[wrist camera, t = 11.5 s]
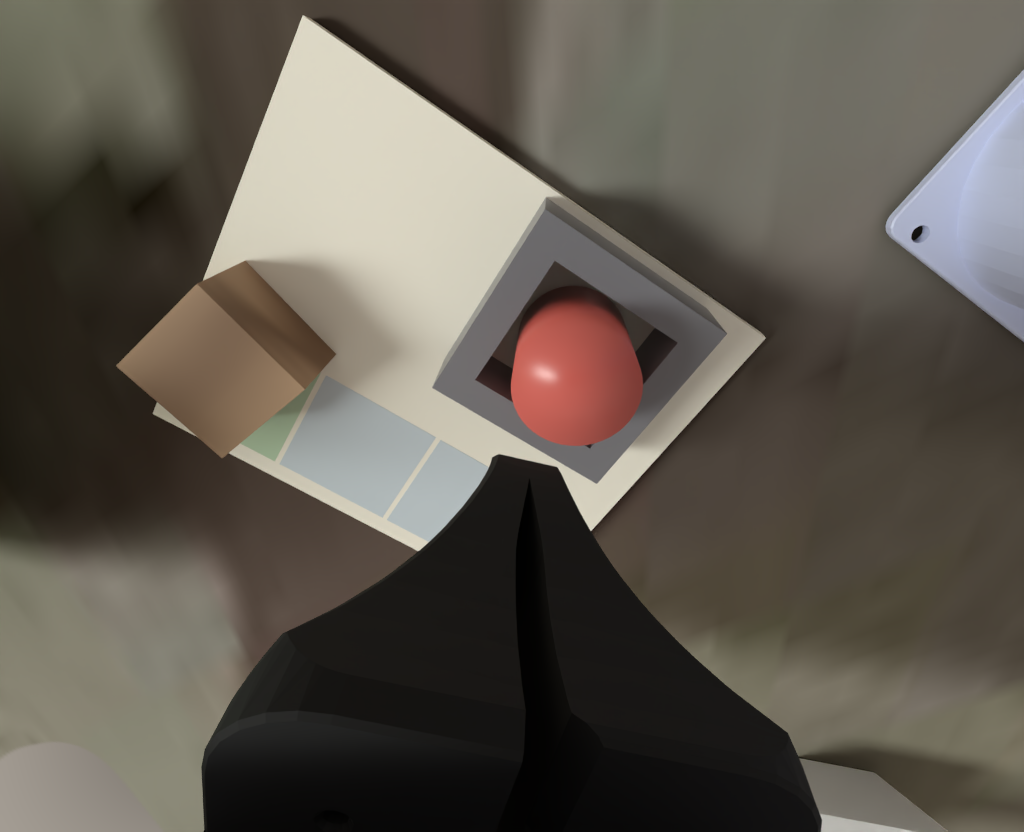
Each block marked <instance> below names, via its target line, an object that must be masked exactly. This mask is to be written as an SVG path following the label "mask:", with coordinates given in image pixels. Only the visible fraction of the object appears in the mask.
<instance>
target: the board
mask: <svg viewBox="0 0 1024 832" xmlns="http://www.w3.org/2000/svg"><path fill="white" fill-rule="evenodd" d="M546 197H547V198H548V199H549V200H551V201H552V202H554V203H555V204H557V205H558V206H560V207H561V208H562V209H564V210H565V211H567V212H568V213H570V214H571V215H573V216H574V217H575V218H577V219H578V220H580V221H581V222H583V223H584V224H586V225H587V226H589V227H590V228H591V229H593V230H594V231H596V232H597V233H599V234H600V235H602V236H603V237H604V238H606V239H607V240H609V241H610V242H612V243H613V244H615V245H616V246H617V247H619V248H620V249H622V250H623V251H625V252H626V253H628V254H629V255H630V256H632V257H633V258H635V259H636V260H638V261H639V262H641V263H642V264H644V265H645V266H646V267H648V268H649V269H651V270H652V271H654V272H655V273H657V274H658V275H659V276H661V277H662V278H664V279H665V280H667V281H668V282H670V283H671V284H672V285H674V286H675V287H677V288H678V289H680V290H681V291H683V292H684V293H685V294H687V295H688V296H690V297H691V298H693V299H694V300H696V301H697V302H699V303H700V304H701V305H703V306H704V307H706V308H707V309H708V310H709V311H710V313H711V314H712V315H713V317H714V318H715V319H716V320H717V322H718V323H719V324H720V325H721V327H722V328H723V329H724V330H725V332H726V333H727V335H726V336H725V337H724V338H723V339H722V340H721V342H720V343H719V344H718V345H717V346H716V347H715V349H714V350H713V351H712V352H711V353H710V354H709V355H708V357H707V358H706V359H705V360H704V361H703V362H702V364H701V365H700V366H699V367H698V368H697V369H696V370H695V372H694V373H693V374H692V375H691V376H690V377H689V379H688V380H687V381H686V382H685V383H684V384H683V385H682V387H681V388H680V389H679V390H678V391H677V392H676V393H675V395H674V396H673V397H672V398H671V399H670V400H669V402H668V403H667V404H666V405H665V406H664V407H663V408H662V410H661V411H660V412H659V413H658V414H657V415H656V417H655V418H654V419H653V420H652V421H651V422H650V423H649V425H648V426H647V427H646V428H645V429H644V430H643V432H642V433H641V434H640V435H639V436H638V437H637V438H636V440H635V441H634V442H633V443H632V444H631V445H630V446H629V448H628V449H627V450H626V451H625V452H624V453H623V455H622V456H621V457H620V458H619V459H618V460H617V461H616V463H615V464H614V465H613V466H612V467H611V468H610V470H609V471H608V472H607V473H606V474H605V475H604V476H603V478H602V479H601V480H600V481H599V482H598V483H597V484H596V483H594V482H592V481H591V480H589V479H587V478H586V477H584V476H582V475H580V474H579V473H577V472H575V471H574V470H572V469H570V468H568V467H567V466H565V465H563V464H562V463H560V462H558V461H556V460H555V459H553V458H551V457H550V456H548V455H546V454H544V453H543V452H541V451H539V450H538V449H536V448H534V447H532V446H531V445H529V444H527V443H526V442H524V441H522V440H520V439H519V438H517V437H515V436H514V435H512V434H510V433H509V432H507V431H505V430H503V429H502V428H500V427H498V426H497V425H495V424H493V423H491V422H490V421H488V420H486V419H485V418H483V417H481V416H479V415H478V414H476V413H474V412H473V411H471V410H469V409H467V408H466V407H464V406H462V405H461V404H459V403H457V402H455V401H454V400H452V399H450V398H449V397H447V396H445V395H443V394H442V393H440V392H438V391H437V390H435V389H433V388H432V387H433V384H434V382H435V380H436V377H437V375H438V373H439V371H440V368H441V366H442V364H443V361H444V359H445V357H446V356H447V354H448V352H449V351H450V349H451V348H452V346H453V344H454V343H455V341H456V340H457V338H458V336H459V335H460V333H461V332H462V330H463V328H464V327H465V325H466V324H467V322H468V321H469V319H470V317H471V316H472V314H473V313H474V311H475V309H476V308H477V306H478V305H479V303H480V301H481V300H482V298H483V297H484V295H485V293H486V292H487V290H488V289H489V287H490V285H491V284H492V282H493V281H494V279H495V277H496V276H497V274H498V273H499V271H500V269H501V268H502V266H503V265H504V263H505V262H506V260H507V258H508V257H509V255H510V254H511V252H512V250H513V249H514V247H515V246H516V244H517V242H518V241H519V239H520V238H521V236H522V234H523V233H524V231H525V230H526V228H527V226H528V225H529V223H530V222H531V220H532V218H533V217H534V215H535V214H536V212H537V210H538V209H539V207H540V206H541V204H542V203H543V201H544V199H545V198H546ZM243 261H246V262H247V263H248V264H249V265H250V266H251V267H252V268H253V269H254V270H255V271H256V272H257V273H258V274H259V275H260V276H261V277H262V278H263V279H264V280H265V281H266V282H267V283H268V284H269V285H270V286H271V287H272V288H273V289H274V291H275V292H276V293H277V294H278V295H279V296H280V297H281V298H282V299H283V300H284V301H285V302H286V303H287V304H288V305H289V306H290V307H291V308H292V309H293V310H294V311H295V312H296V313H297V314H298V315H299V316H300V317H301V318H302V319H303V320H304V321H305V322H306V323H307V324H308V325H309V326H310V327H311V329H312V330H313V331H314V332H315V333H316V334H317V335H318V336H319V337H320V338H321V339H322V340H323V341H324V342H325V343H326V344H327V345H328V346H329V347H330V348H331V349H332V350H333V351H334V352H335V353H336V355H335V356H334V357H333V359H332V360H331V361H330V362H329V363H328V364H327V365H326V366H325V368H324V369H323V370H322V371H321V372H320V373H319V374H318V375H317V377H316V378H315V379H314V380H313V381H312V382H311V383H310V384H309V386H308V387H307V388H306V389H305V390H304V391H303V392H301V393H300V394H299V395H298V396H297V397H295V398H294V399H293V400H292V401H291V402H289V403H288V404H287V405H286V406H285V407H283V408H282V409H281V410H280V411H279V412H277V413H276V414H275V415H274V416H273V417H271V418H270V419H269V420H268V421H267V422H265V423H264V424H263V425H262V426H260V427H259V428H258V429H257V430H256V431H254V432H253V433H252V434H251V435H250V436H248V437H247V438H246V439H245V440H244V441H242V442H241V443H240V444H239V445H238V446H236V447H235V448H234V449H233V450H232V451H230V452H229V454H231V455H233V456H235V457H237V458H239V459H241V460H243V461H245V462H247V463H249V464H251V465H253V466H255V467H257V468H259V469H260V470H262V471H264V472H266V473H268V474H270V475H272V476H274V477H276V478H278V479H280V480H282V481H284V482H286V483H288V484H290V485H291V486H293V487H295V488H297V489H299V490H301V491H303V492H305V493H307V494H309V495H311V496H313V497H315V498H317V499H319V500H321V501H322V502H324V503H326V504H328V505H330V506H332V507H334V508H336V509H338V510H340V511H342V512H344V513H346V514H348V515H350V516H352V517H353V518H355V519H357V520H359V521H361V522H363V523H365V524H367V525H369V526H371V527H373V528H375V529H377V530H379V531H381V532H383V533H384V534H386V535H388V536H390V537H392V538H394V539H396V540H398V541H400V542H402V543H404V544H406V545H408V546H410V547H412V548H414V549H415V550H417V551H419V550H421V549H422V548H423V547H424V546H425V545H426V544H427V543H428V542H430V541H431V540H432V539H433V538H434V537H435V536H436V535H437V534H438V533H439V532H440V531H441V530H442V529H443V528H444V527H445V526H446V525H447V523H448V522H449V521H450V520H451V519H452V518H453V517H454V516H455V515H456V513H457V512H458V511H459V510H460V509H461V508H462V507H463V505H464V504H465V503H466V502H467V500H468V499H469V498H470V496H471V495H472V494H473V492H474V491H475V490H476V488H477V487H478V485H479V484H480V482H481V481H482V479H483V477H484V476H485V474H486V472H487V470H488V468H489V466H490V464H491V460H492V457H494V456H496V455H498V454H501V455H506V456H510V457H515V458H519V459H524V460H528V461H533V462H537V463H542V464H546V465H551V466H555V467H558V469H559V471H560V472H561V474H562V476H563V478H564V481H565V483H566V485H567V487H568V489H569V491H570V493H571V495H572V497H573V499H574V501H575V503H576V505H577V507H578V509H579V511H580V513H581V515H582V517H583V518H584V520H585V522H586V524H587V525H588V527H589V529H590V531H592V529H593V528H594V527H595V526H596V525H597V524H598V523H599V522H600V521H601V520H602V518H603V517H604V516H605V515H606V514H607V513H608V512H609V511H610V510H611V509H612V507H613V506H614V505H615V504H616V503H617V502H618V501H619V500H620V499H621V497H622V496H623V495H624V494H625V493H626V492H627V491H628V490H629V489H630V488H631V486H632V485H633V484H634V483H635V482H636V481H637V480H638V479H639V478H640V477H641V475H642V474H643V473H644V472H645V471H646V470H647V469H648V468H649V467H650V465H651V464H652V463H653V462H654V461H655V460H656V459H657V458H658V457H659V456H660V454H661V453H662V452H663V451H664V450H665V449H666V448H667V447H668V446H669V445H670V443H671V442H672V441H673V440H674V439H675V438H676V437H677V436H678V435H679V433H680V432H681V431H682V430H683V429H684V428H685V427H686V426H687V425H688V424H689V422H690V421H691V420H692V419H693V418H694V417H695V416H696V415H697V414H698V413H699V411H700V410H701V409H702V408H703V407H704V406H705V405H706V404H707V403H708V401H709V400H710V399H711V398H712V397H713V396H714V395H715V394H716V393H717V392H718V390H719V389H720V388H721V387H722V386H723V385H724V384H725V383H726V382H727V381H728V379H729V378H730V377H731V376H732V375H733V374H734V373H735V372H736V371H737V370H738V368H739V367H740V366H741V365H742V364H743V363H744V362H745V361H746V360H747V358H748V357H749V356H750V355H751V354H752V353H753V352H754V351H755V350H756V349H757V347H758V346H759V345H760V344H761V343H762V342H763V341H764V340H765V339H766V337H765V336H764V335H763V334H762V333H761V332H760V331H759V330H757V329H756V328H754V327H753V326H751V325H750V324H748V323H747V322H746V321H744V320H743V319H741V318H740V317H738V316H737V315H736V314H734V313H733V312H731V311H730V310H728V309H727V308H726V307H724V306H723V305H721V304H720V303H718V302H717V301H715V300H714V299H713V298H711V297H710V296H708V295H707V294H705V293H704V292H703V291H701V290H700V289H698V288H697V287H695V286H694V285H693V284H691V283H690V282H688V281H687V280H685V279H684V278H682V277H681V276H680V275H678V274H677V273H675V272H674V271H672V270H671V269H670V268H668V267H667V266H665V265H664V264H662V263H661V262H660V261H658V260H657V259H655V258H654V257H652V256H651V255H649V254H648V253H647V252H645V251H644V250H642V249H641V248H639V247H638V246H637V245H635V244H634V243H632V242H631V241H629V240H628V239H627V238H625V237H624V236H622V235H621V234H619V233H618V232H616V231H615V230H614V229H612V228H611V227H609V226H608V225H606V224H605V223H604V222H602V221H601V220H599V219H598V218H596V217H595V216H594V215H592V214H591V213H589V212H588V211H586V210H585V209H583V208H582V207H581V206H579V205H578V204H576V203H575V202H573V201H572V200H571V199H569V198H568V197H566V196H565V195H563V194H562V193H561V192H559V191H558V190H556V189H555V188H553V187H552V186H550V185H549V184H548V183H546V182H545V181H543V180H542V179H540V178H539V177H538V176H536V175H535V174H533V173H532V172H530V171H529V170H528V169H526V168H525V167H523V166H522V165H520V164H519V163H517V162H516V161H515V160H513V159H512V158H510V157H509V156H507V155H506V154H505V153H503V152H502V151H500V150H499V149H497V148H496V147H495V146H493V145H492V144H490V143H489V142H487V141H486V140H484V139H483V138H482V137H480V136H479V135H477V134H476V133H474V132H473V131H472V130H470V129H469V128H467V127H466V126H464V125H463V124H462V123H460V122H459V121H457V120H456V119H454V118H453V117H451V116H450V115H449V114H447V113H446V112H444V111H443V110H441V109H440V108H439V107H437V106H436V105H434V104H433V103H431V102H430V101H429V100H427V99H426V98H424V97H423V96H421V95H420V94H418V93H417V92H416V91H414V90H413V89H411V88H410V87H408V86H407V85H406V84H404V83H403V82H401V81H400V80H398V79H397V78H396V77H394V76H393V75H391V74H390V73H388V72H387V71H385V70H384V69H383V68H381V67H380V66H378V65H377V64H375V63H374V62H373V61H371V60H370V59H368V58H367V57H365V56H364V55H363V54H361V53H360V52H358V51H357V50H355V49H354V48H352V47H351V46H350V45H348V44H347V43H345V42H344V41H342V40H341V39H340V38H338V37H337V36H335V35H334V34H332V33H331V32H330V31H328V30H327V29H325V28H324V27H322V26H321V25H319V24H318V23H317V22H315V21H314V20H312V19H311V18H308V17H306V16H303V17H302V19H301V22H300V24H299V27H298V30H297V32H296V35H295V38H294V40H293V43H292V46H291V48H290V51H289V54H288V56H287V59H286V62H285V64H284V67H283V70H282V72H281V75H280V78H279V80H278V83H277V85H276V88H275V91H274V93H273V96H272V99H271V101H270V104H269V107H268V109H267V112H266V115H265V117H264V120H263V123H262V125H261V128H260V131H259V133H258V136H257V139H256V141H255V144H254V146H253V149H252V152H251V154H250V157H249V160H248V162H247V165H246V168H245V170H244V173H243V176H242V178H241V181H240V184H239V186H238V189H237V192H236V194H235V197H234V200H233V202H232V205H231V207H230V210H229V213H228V215H227V218H226V221H225V223H224V226H223V229H222V231H221V234H220V237H219V239H218V242H217V245H216V247H215V250H214V253H213V255H212V258H211V261H210V263H209V266H208V268H207V271H206V274H205V276H204V279H203V281H204V280H206V279H208V278H210V277H212V276H214V275H216V274H218V273H220V272H222V271H224V270H226V269H229V268H231V267H233V266H235V265H237V264H239V263H241V262H243ZM565 286H582V287H587V288H591V289H594V290H596V291H598V292H600V293H602V294H604V293H603V292H601V291H600V290H598V289H597V288H595V287H594V286H592V285H591V284H589V283H588V282H586V281H585V280H583V279H582V278H580V277H579V276H577V275H576V274H574V273H573V272H571V271H570V270H568V269H567V268H565V267H564V266H562V265H561V264H559V263H558V262H556V261H554V263H553V264H552V266H551V267H550V269H549V270H548V272H547V273H546V275H545V276H544V278H543V279H542V281H541V282H540V284H539V285H538V287H537V288H536V290H535V291H534V293H533V294H532V296H531V297H530V299H529V300H528V302H527V303H526V305H525V306H524V308H523V309H522V311H521V312H520V314H519V315H518V317H517V318H516V320H515V321H514V323H513V324H512V326H511V327H510V329H509V330H508V332H507V333H506V335H505V336H504V338H503V339H502V341H501V342H500V344H499V345H498V347H497V348H496V350H495V351H494V353H493V354H492V356H493V357H494V358H496V359H497V360H499V361H501V362H502V363H504V364H506V365H507V366H509V367H511V368H512V369H513V366H514V359H515V352H516V346H517V339H518V332H519V327H520V323H521V321H522V318H523V316H524V314H525V312H526V311H527V309H528V308H529V307H530V305H531V304H532V303H533V302H534V301H535V300H536V299H538V298H539V297H540V296H542V295H543V294H545V293H547V292H549V291H551V290H553V289H556V288H560V287H565ZM604 295H605V296H606V297H608V298H609V299H610V300H611V301H612V302H613V303H614V304H615V305H616V307H617V308H618V309H619V311H620V313H621V315H622V317H623V320H624V322H625V325H626V328H627V331H628V334H629V337H630V340H631V343H632V345H633V348H634V351H635V352H636V351H637V349H638V348H639V347H640V346H641V344H642V343H643V342H644V341H645V339H646V338H647V337H648V336H649V334H650V333H651V332H652V331H653V329H654V328H655V327H653V326H652V325H650V324H649V323H647V322H646V321H644V320H643V319H641V318H640V317H638V316H637V315H635V314H634V313H632V312H631V311H629V310H628V309H626V308H625V307H623V306H622V305H621V304H619V303H618V302H616V301H615V300H613V299H612V298H610V297H609V296H607V295H606V294H604ZM153 414H154V415H156V416H158V417H160V418H162V419H164V420H165V421H167V422H169V423H171V424H173V425H175V426H177V427H179V428H181V429H183V430H185V431H187V432H189V433H191V434H193V433H192V432H191V431H190V430H189V429H188V428H187V427H185V426H184V425H183V424H182V423H181V422H180V421H179V420H177V419H176V418H175V417H174V416H173V415H172V414H170V413H169V412H168V411H167V410H166V409H165V408H164V407H162V406H161V405H160V404H159V403H158V402H157V404H156V406H155V409H154V412H153ZM193 435H195V434H193ZM195 436H196V435H195ZM196 437H197V436H196Z"/></svg>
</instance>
